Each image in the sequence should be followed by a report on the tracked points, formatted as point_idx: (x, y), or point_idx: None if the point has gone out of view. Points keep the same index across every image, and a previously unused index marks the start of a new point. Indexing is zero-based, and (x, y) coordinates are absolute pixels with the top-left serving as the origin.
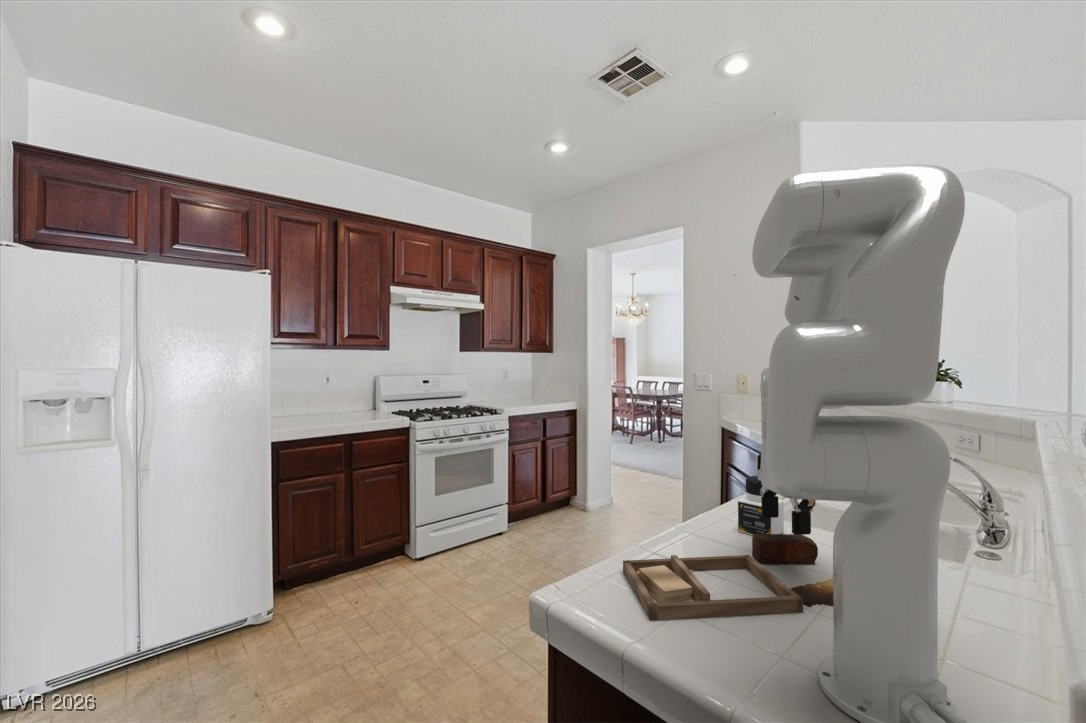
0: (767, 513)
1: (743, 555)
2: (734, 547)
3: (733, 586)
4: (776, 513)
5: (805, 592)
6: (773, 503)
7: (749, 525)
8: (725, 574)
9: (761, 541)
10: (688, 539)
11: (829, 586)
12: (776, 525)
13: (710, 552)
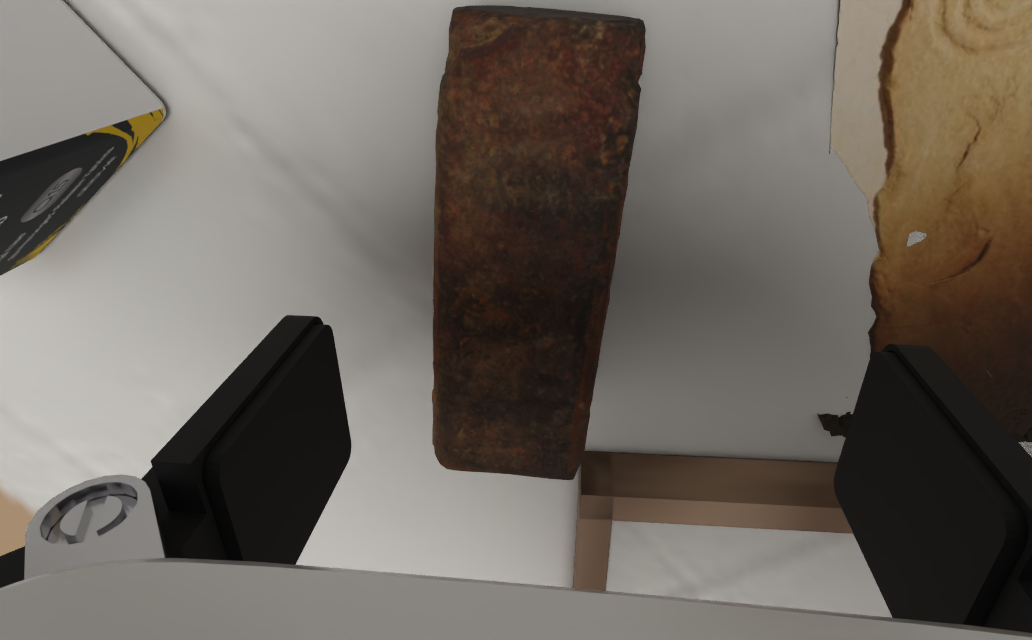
0: (335, 452)
1: (583, 518)
2: None
3: (765, 592)
4: (318, 361)
5: (954, 363)
6: (271, 469)
7: (29, 234)
8: (649, 572)
9: (571, 477)
10: None
11: (954, 179)
12: (3, 21)
13: (397, 529)
